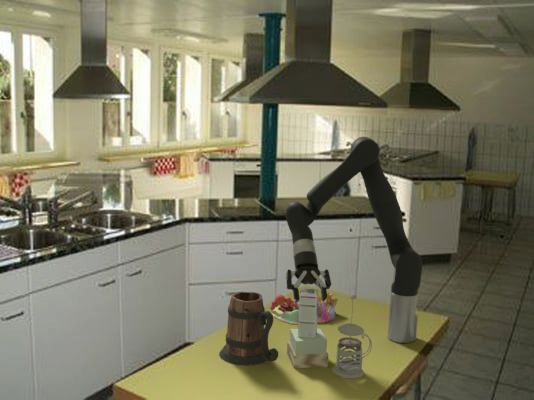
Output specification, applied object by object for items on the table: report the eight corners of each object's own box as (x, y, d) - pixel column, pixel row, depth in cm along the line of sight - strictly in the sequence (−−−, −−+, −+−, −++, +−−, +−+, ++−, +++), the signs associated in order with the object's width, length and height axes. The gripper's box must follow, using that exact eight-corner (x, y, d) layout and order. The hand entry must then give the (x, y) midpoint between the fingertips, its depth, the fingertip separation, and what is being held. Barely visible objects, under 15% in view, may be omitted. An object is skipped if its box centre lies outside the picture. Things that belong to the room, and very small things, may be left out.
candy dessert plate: (297, 300, 246) (298, 279, 245) (346, 314, 233) (347, 291, 231) (261, 316, 226) (262, 293, 225) (313, 331, 213) (314, 307, 211)
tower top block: (319, 341, 193) (319, 328, 192) (326, 354, 183) (327, 340, 183) (289, 341, 192) (290, 328, 191) (295, 354, 182) (296, 341, 181)
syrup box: (315, 338, 184) (318, 295, 181) (297, 337, 184) (299, 293, 182) (316, 332, 189) (319, 289, 187) (298, 330, 190) (301, 287, 188)
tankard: (208, 351, 191) (210, 293, 188) (248, 339, 202) (250, 284, 199) (254, 378, 174) (256, 315, 171) (294, 363, 185) (297, 303, 182)
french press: (329, 364, 186) (334, 289, 182) (365, 364, 187) (370, 289, 183) (335, 378, 176) (340, 299, 172) (373, 378, 177) (379, 300, 173)
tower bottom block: (318, 353, 194) (319, 340, 194) (327, 368, 184) (328, 354, 183) (286, 354, 193) (287, 341, 192) (293, 369, 182) (294, 355, 181)
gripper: (285, 250, 189) (291, 295, 179) (328, 250, 191) (335, 294, 182) (282, 261, 195) (287, 305, 185) (323, 261, 197) (330, 305, 188)
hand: (311, 300), depth 184 cm, fingers open, 8 cm apart
